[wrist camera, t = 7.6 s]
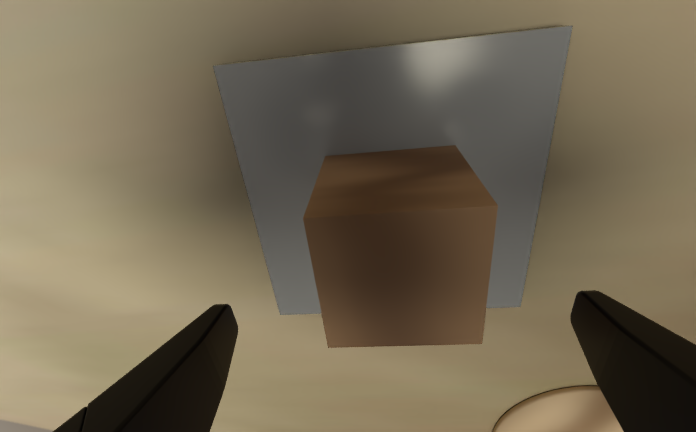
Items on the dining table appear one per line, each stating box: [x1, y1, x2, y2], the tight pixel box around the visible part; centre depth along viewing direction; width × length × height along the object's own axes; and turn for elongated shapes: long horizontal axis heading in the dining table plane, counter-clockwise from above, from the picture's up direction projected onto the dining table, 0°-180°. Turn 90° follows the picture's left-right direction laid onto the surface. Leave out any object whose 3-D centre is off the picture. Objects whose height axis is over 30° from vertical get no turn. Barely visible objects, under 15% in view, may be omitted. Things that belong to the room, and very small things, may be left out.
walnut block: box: [303, 145, 498, 348], centre depth 12 cm, size 5×5×5 cm
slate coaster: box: [213, 26, 572, 315], centre depth 15 cm, size 12×12×1 cm
